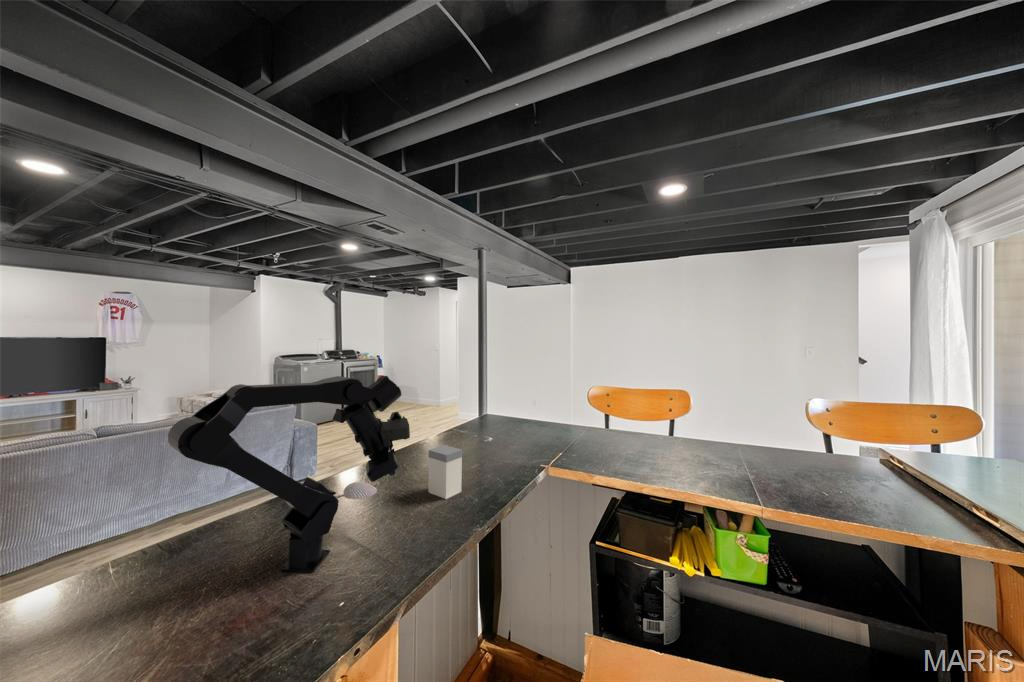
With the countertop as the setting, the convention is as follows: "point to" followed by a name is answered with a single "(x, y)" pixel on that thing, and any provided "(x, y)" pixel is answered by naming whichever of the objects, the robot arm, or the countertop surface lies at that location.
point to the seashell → (359, 490)
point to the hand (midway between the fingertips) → (393, 473)
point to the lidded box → (445, 471)
